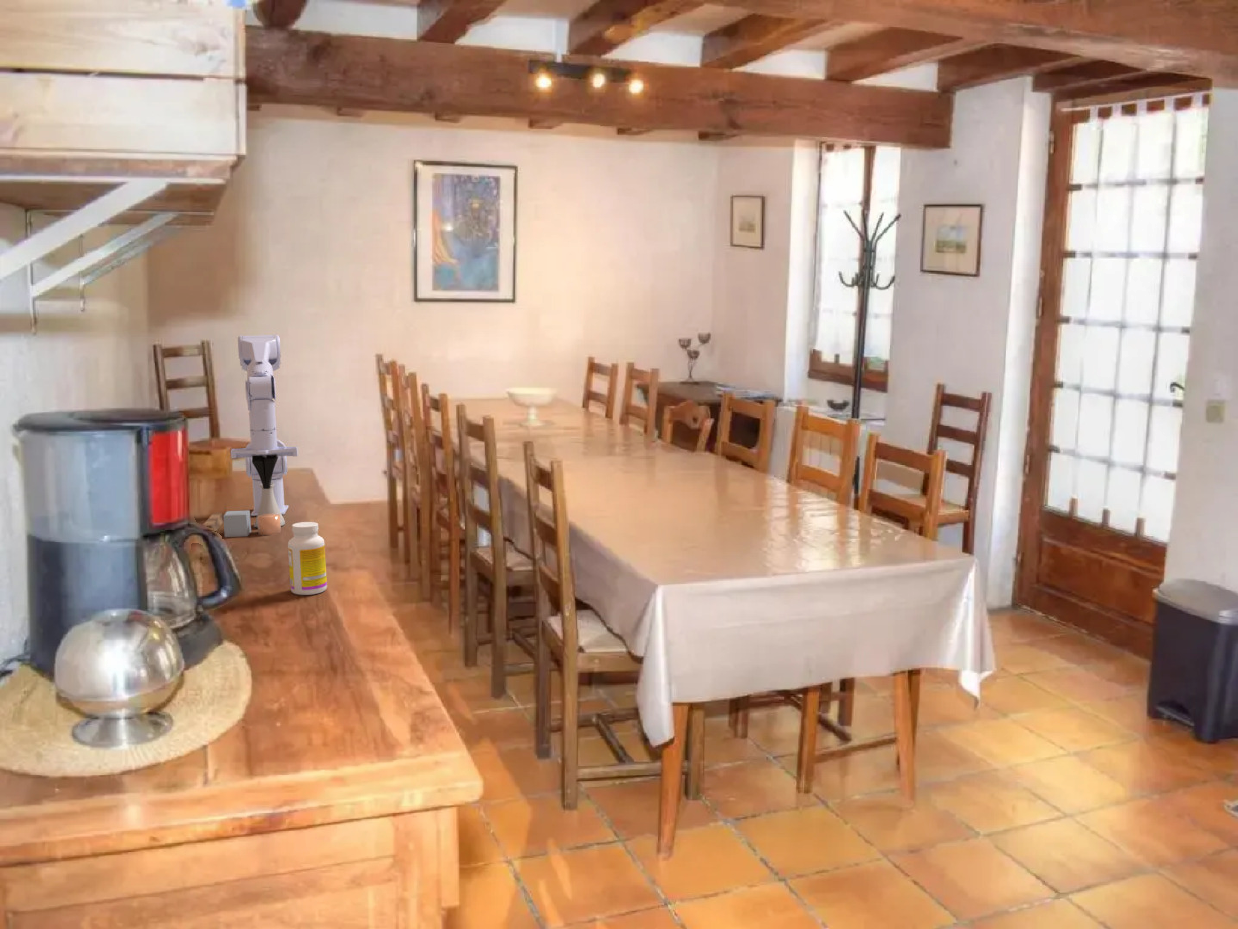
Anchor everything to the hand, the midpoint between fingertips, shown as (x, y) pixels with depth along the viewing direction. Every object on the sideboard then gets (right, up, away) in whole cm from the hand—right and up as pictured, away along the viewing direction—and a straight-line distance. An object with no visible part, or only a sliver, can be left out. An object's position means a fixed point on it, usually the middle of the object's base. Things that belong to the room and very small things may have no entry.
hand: (266, 488), depth 258 cm
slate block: (-7, -11, +1) cm, 13 cm away
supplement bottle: (+22, -19, -46) cm, 54 cm away
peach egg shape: (0, -10, +2) cm, 10 cm away
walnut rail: (-14, -10, +5) cm, 18 cm away
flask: (-2, -9, +9) cm, 13 cm away
